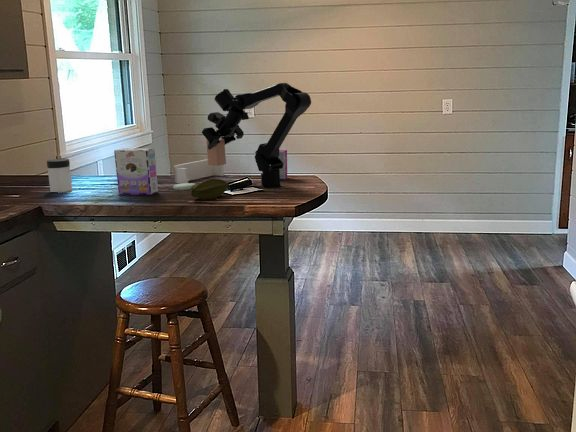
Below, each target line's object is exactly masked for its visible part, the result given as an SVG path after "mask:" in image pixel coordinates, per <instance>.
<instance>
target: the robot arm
mask: <svg viewBox="0 0 576 432" xmlns="http://www.w3.org/2000/svg"><path fill="white" fill-rule="evenodd" d="M310 96H311V95H310V94H309V93H307V92H304V91H302V90H300V89H298V88H296V87H294V86H292V85H290V84H289V83H288V82H279V83H276V84H275V85H271V86H269V87H266V88H263V89H260V90H257V91H254V92H249V93H248V92H246V93H238V94H236V95H235V96H234V95H233V94H232V93H231V91H230V89H228V88H224V89H223V90H222V91H220V92H219V93H217V94H216V95H215V97H214V102H216V104H217V105H218V106H219V107H220V109H221V110H222V111H223V112H227V114H226V115H224V114H223V113H221V112H218V111H216V112H210V113H208V115H207V120H208V121H209V122H210V123H213V124H214V125H215V128H216V130H215V129H214V127H212V126H210V127H204V128H203V129H202V131H201V134H202V135H203V137H204V138H205V139H206V140H208V141H209V144H208V149H209V150H210V149H212V148H213V147H215V146H216V145H217V144H219V143H220V141H219V139H224V142H225V145H229V144H230V143H232V142H234V141H236V140H239V139H243V137H244V135H245V133H244V131H243V130H242V128H241V127H240V125H239V124H240V123H241V121H245V120H249V119H250V117H249V114H248V113H249V112H248V111H245V110H250V109H253V108H255V107H257V106H258V105H259V104H260V103H262V102H264V101H267V100H270V99H275V98H276V97H280V98H281V100H282V101H283V102H284V103H285V105H284V107H285V109H284V110H285V111H284V114H283V115H282V117H281V118H280V121H279V122H278V124H277V125H276V127H275V129H274V131H273V132H272V134H271V136H270V138H269V139H268V140H267V142H266V143H260V144H259V145H258V148H257V150H256V151H255V152H254V153H255V155H254V160H255V163H256V166H257V170H258V171H259V172H261V173H260V185H261V186H262V187H263V189H264V188H265V189H266V188H280V187H282V185H281V180H280V170H279V169H282V168H283V162H282V161H281V160H280V159H279V150H280V148H281V146H282V144H283V143H284V141H285V140H286V138H287V136H288V134H289V132H290V131H291V129H292V128H293V126H294V124H295V122H296V120H297V119H298V118H299V117H301V116H302V115H303V114H304V113H305V112H306V111H308V108H310V107H311V105H312V99H311V97H310ZM235 135H236V136H235Z"/></svg>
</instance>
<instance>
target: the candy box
mask: <svg viewBox="0 0 576 432" xmlns="http://www.w3.org/2000/svg"><path fill="white" fill-rule="evenodd" d="M155 151H156V150H155V148H149V147H148V148H146V147H143V148H138V147H136V148H135V147H134V148H119V149H114V150H113V152H114V153H113V154H114V162H115V171H116V178H117V189H118V195H134V196H135V195H140V196H141V195H143V196H145V195H146V196H148V195H150V196H151V195H154V194H157V193H159V188H158V187H159V186H158V177H157V176H158V175H157V174H158V173H157V163H156V162H157V161H156V153H155Z"/></svg>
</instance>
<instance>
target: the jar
mask: <svg viewBox="0 0 576 432" xmlns="http://www.w3.org/2000/svg"><path fill="white" fill-rule="evenodd" d="M46 167H47V171H48V172H47V173H48V183H49V190H50V193H51V192H58V193H59V194H61V193H62V192H63V193H67V192H72V191H73V185H72V183H73V182H72V181H73V180H72V173H71V169H70V167H71V166H70V158H53V159H48V160H46ZM58 193H57V194H58ZM63 193H62V194H63Z"/></svg>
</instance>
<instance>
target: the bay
mask: <svg viewBox="0 0 576 432" xmlns="http://www.w3.org/2000/svg"><path fill="white" fill-rule="evenodd" d="M224 166H225V164H224V165H219V166H213V165H208V158H207V159H202V160H197V161H191V162H186V163H181V164H175V165H173V171H174V183H175V184H182V183H189V181H192V180H193V181H194V180H198V179H203V178H206V177H211V176H217V177H218V176H220V177H224V176H225V167H224Z"/></svg>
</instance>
